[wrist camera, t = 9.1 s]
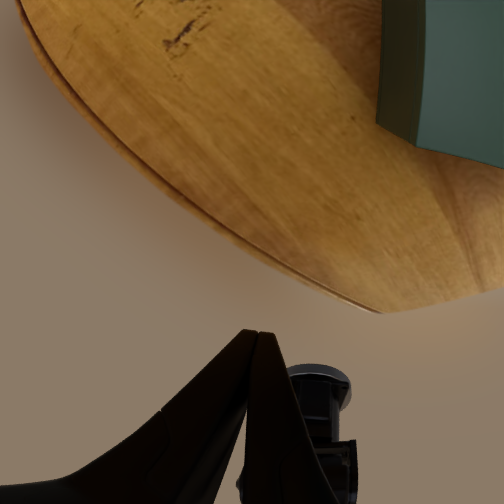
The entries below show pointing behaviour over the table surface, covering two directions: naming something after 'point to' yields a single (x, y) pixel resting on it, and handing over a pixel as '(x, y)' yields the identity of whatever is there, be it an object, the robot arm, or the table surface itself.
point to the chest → (398, 66)
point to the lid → (461, 80)
